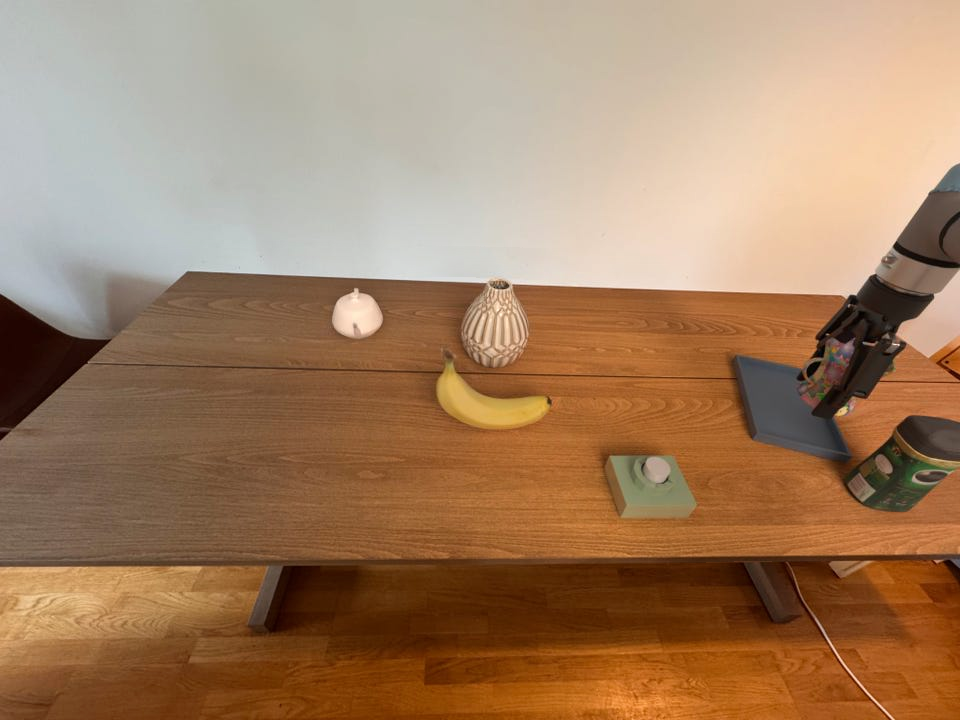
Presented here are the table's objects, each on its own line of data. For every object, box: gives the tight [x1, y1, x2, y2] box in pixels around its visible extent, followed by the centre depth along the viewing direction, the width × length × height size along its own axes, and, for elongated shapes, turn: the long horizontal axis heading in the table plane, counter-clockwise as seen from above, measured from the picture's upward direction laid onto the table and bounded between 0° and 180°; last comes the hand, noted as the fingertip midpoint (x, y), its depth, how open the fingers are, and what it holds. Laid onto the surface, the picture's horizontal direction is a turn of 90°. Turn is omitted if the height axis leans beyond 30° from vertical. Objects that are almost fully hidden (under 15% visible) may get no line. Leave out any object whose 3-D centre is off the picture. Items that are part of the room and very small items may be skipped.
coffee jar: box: [844, 414, 960, 513], centre depth 72 cm, size 10×8×19 cm
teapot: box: [331, 287, 384, 340], centre depth 104 cm, size 20×12×10 cm, turn 12°
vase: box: [460, 277, 531, 369], centre depth 96 cm, size 16×16×20 cm
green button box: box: [603, 454, 698, 519], centre depth 73 cm, size 12×10×6 cm
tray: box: [732, 354, 853, 464], centre depth 94 cm, size 27×17×2 cm, turn 163°
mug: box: [797, 338, 897, 417], centre depth 70 cm, size 12×9×11 cm
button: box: [642, 457, 671, 484], centre depth 71 cm, size 4×4×2 cm
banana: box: [435, 346, 553, 431], centre depth 79 cm, size 23×6×20 cm, turn 95°
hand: (812, 397), depth 73 cm, fingers closed on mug, 8 cm apart
